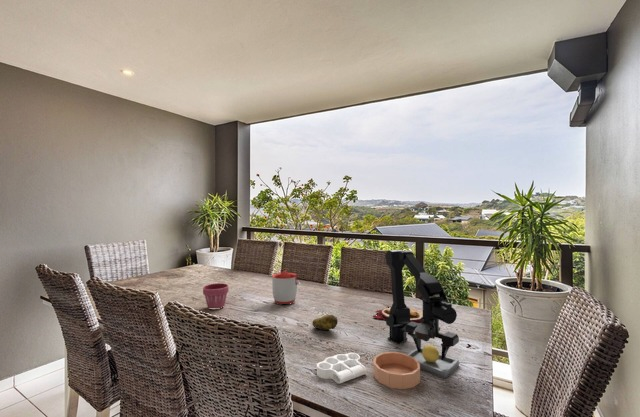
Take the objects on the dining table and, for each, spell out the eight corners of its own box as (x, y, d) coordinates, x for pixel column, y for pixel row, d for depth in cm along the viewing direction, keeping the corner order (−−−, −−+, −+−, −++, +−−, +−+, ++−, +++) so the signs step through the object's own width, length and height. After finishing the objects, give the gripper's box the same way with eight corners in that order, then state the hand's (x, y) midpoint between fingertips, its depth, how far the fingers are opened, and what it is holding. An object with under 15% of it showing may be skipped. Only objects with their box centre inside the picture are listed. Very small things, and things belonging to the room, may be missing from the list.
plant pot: (212, 313, 171) (212, 290, 171) (198, 308, 179) (198, 286, 179) (233, 306, 182) (233, 285, 182) (219, 302, 190) (219, 281, 190)
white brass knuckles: (332, 389, 100) (309, 369, 112) (374, 373, 109) (349, 356, 122) (332, 379, 100) (309, 360, 112) (374, 364, 109) (349, 348, 121)
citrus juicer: (299, 306, 182) (298, 272, 182) (269, 306, 182) (269, 273, 182) (301, 298, 197) (301, 267, 197) (274, 298, 198) (274, 267, 198)
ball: (419, 361, 115) (419, 345, 115) (426, 356, 119) (426, 340, 119) (434, 367, 111) (434, 350, 111) (441, 361, 115) (441, 345, 115)
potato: (324, 324, 154) (324, 308, 154) (340, 332, 144) (340, 315, 144) (310, 328, 150) (310, 311, 149) (326, 337, 139) (326, 319, 139)
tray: (403, 362, 116) (403, 356, 116) (418, 351, 125) (418, 346, 125) (445, 378, 105) (445, 372, 105) (458, 365, 114) (458, 360, 114)
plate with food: (424, 329, 149) (425, 322, 149) (372, 318, 162) (372, 312, 162) (432, 314, 171) (432, 308, 171) (385, 306, 184) (385, 300, 184)
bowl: (364, 375, 107) (364, 362, 107) (389, 359, 118) (389, 348, 118) (405, 394, 96) (405, 380, 96) (427, 375, 107) (427, 362, 107)
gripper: (397, 313, 116) (397, 354, 116) (446, 327, 103) (446, 373, 103) (411, 306, 124) (411, 345, 124) (459, 318, 111) (459, 361, 111)
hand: (430, 355), depth 115 cm, fingers open, 9 cm apart
